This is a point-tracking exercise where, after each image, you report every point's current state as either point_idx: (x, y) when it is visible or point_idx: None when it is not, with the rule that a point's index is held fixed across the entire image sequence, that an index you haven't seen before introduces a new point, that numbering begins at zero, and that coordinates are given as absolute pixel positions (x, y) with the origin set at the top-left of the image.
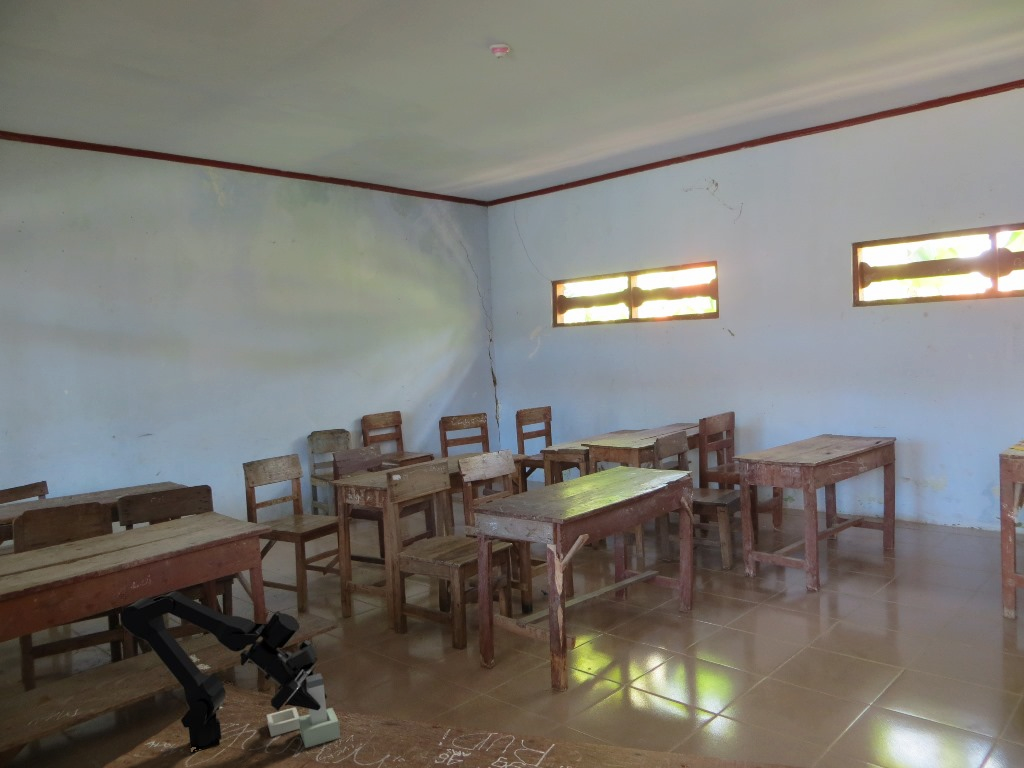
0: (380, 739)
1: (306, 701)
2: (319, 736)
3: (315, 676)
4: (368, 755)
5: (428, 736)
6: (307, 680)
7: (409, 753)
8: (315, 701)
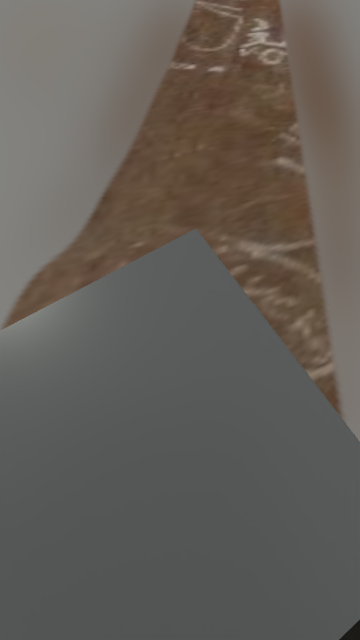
0: (196, 201)
1: None
2: None
3: (67, 458)
4: (289, 209)
5: (183, 95)
6: (321, 629)
7: (268, 118)
8: None
